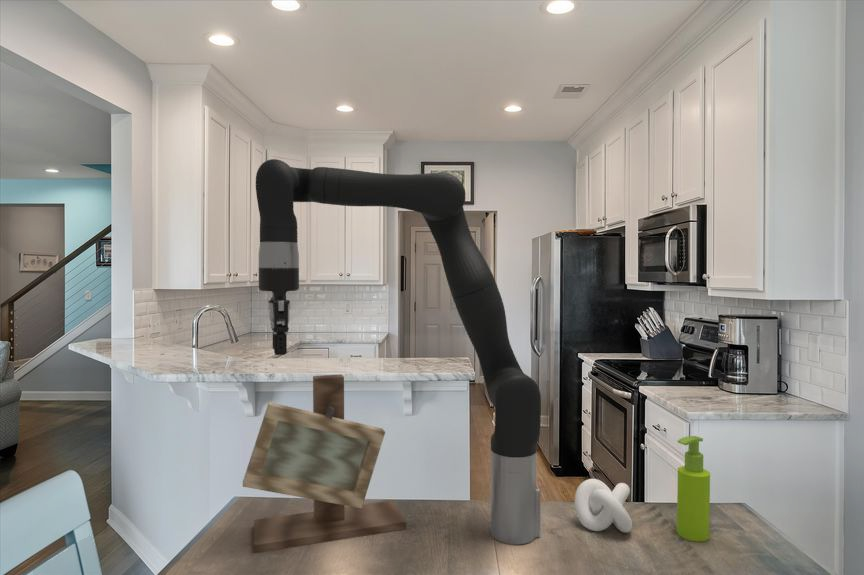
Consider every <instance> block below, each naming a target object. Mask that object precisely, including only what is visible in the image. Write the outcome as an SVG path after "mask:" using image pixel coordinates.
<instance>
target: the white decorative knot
mask: <svg viewBox="0 0 864 575" xmlns="http://www.w3.org/2000/svg"><path fill="white" fill-rule="evenodd" d="M630 493H631V488H630V487H629V485H628V484H626V483H625V482H619V483H617V484H616V485H615V486H614V488H613V489H612V490H611V489H610V487H608V485H606V483H604V482H603V481H601V480H600V479H598V478H588V479H586V480H584V481H582V482H581V483H580V484H579V486H578V487H577V489H576V491H575V495H574V502H573V503H574V511H575V514H576V516H577V519H578V521H579V522H580V523H581V525H582V526H583V527H585V528H586V529H588V530H590V531H592V532H593V531H594V532H601V531H604V530H606V529H608V528H609V527H610V526H611V525H612V524H613V525H614V526H615V527H616V529H617V530H618V531H620V532H621V533H625V534H627V533H630V532H631V531H632V530H633V522H632V518H631V516H630V515H629V513H628V511H627V510H626V508H625V507H624V506H623V505H624V503H625V502H626V500H627V499H628V497H629V495H630Z"/></svg>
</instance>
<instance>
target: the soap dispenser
mask: <svg viewBox="0 0 864 575" xmlns="http://www.w3.org/2000/svg"><path fill="white" fill-rule="evenodd" d="M676 441H677V443H678V444H681V445H684V446H688V445H689V449H688V450H687V451H685V452H684V465H682V466H681V465H680V466H679V467H678V468H677V499H676V501H677V504H676V509H677V510H676V512H677V513H676V534H677V535H678V536H679V537H681V538H683V539H684V540H688V541H690V542H691V541H692V542H697V543H699V542H700V543H702V542H707V541H708V540H709V539H710V509H711V508H710V506H711V505H710V504H711V502H710V501H711V500H710V499H711V493H710V492H711V473H710V471H709V470H707V469H705V468H704V454H703V453H701V452H700V449H699V448H700V447H699V446H700V445H699V444H700V442H704V438H702V437H699V436H697V435H690V436H684V437H682V438H680V439H678V440H676Z"/></svg>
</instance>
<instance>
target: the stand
mask: <svg viewBox="0 0 864 575" xmlns="http://www.w3.org/2000/svg"><path fill="white" fill-rule="evenodd" d="M328 406H332V407H333V408H334V409H335V411H334V414H333V417H335V418H339V419H344V420H345V377H344V375H343V374H340V373H339V374H331V375H330V374H327V375H313V376H312V412H314V413H318V414H322V415H325V414H326V411H327V408H328ZM406 529H407V520H406V519H405V517H404V516H403V514H402V512H401V511H400V509H399V507H398V506H397V505H396V503H395V502H394V499H393V500H387V501H381V502H380V501H379V502H372V503H366V504H364V503H363V506H362V508H357V507H351V506H346V505H340V504H335V503H329V502H324V501H318V500H313V511H308V512H301V513H294V514H293V513H291V514H286V515H285V514H284V515H280V516H279V515H278V516H271V517H265V518H264V517H263V518H258V519H257V518H256V519H253V553H254V554H256V553H263V552H268V551H269V552H270V551H274V550H281V549H282V550H283V549H287V548H295V547H300V546H306V545H307V546H308V545H313V544H320V543H325V542H332V541H339V540H343V539H345V540H346V539H351V538H357V537H358V538H359V537H363V536H370V535H376V534H382V533H383V534H384V533H389V532H395V531H402V530H406Z"/></svg>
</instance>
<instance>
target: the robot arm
mask: <svg viewBox="0 0 864 575" xmlns="http://www.w3.org/2000/svg"><path fill="white" fill-rule="evenodd" d="M255 174H256V175H255V192H256V201H257V206H258V212H259V248H258V290H259V291H261V292H272V297H270V300H269V299H268V301H267V305H268V310H269V312H268V313H269V316H268V317H269V321H270V325H271V326H270V329H271V331H272V349H273V351H274V354H275V355H276V356H282V355H283V356H284V355H286V354H287V353H288V350H287V349H288V348H287V346H288V345H287V344H288V343H287V340H288V339H287V335H288V333H289V324H290V318H291V317H290V310H291V300H289V299H287V292H296V291H298V290H299V289H300V254H299V246H298V219H297V217H296V214H295V212H294V203H317V204H323V205H330V206H331V205H332V206H343V207H344V206H345V207H386V208H387V207H388V208H396V209H403V210H408V211H412V212H417V213H420V214H421V215H422V217H423V219H424V220H425V223H426V224H427V226H428V228H429V230H430V233H431V235H432V237H433V238H434V241H435V244H436V246H437V249H438V251H439V255H440V258H441V263H442V265H443V266H442V267H443V270H444V271H443V272H444V273H445V277H446V282H447V285H448V287H449V290H450V293H451V297H452V300H453V302H454V305H455V308H456V310H457V313H458V315H459V318H460V321H461V322H462V326H463V327H464V329H465V332H466V334H467V336H468V338H469V341H470V342H471V344H472V347H473V349H474V351H475V353H476V356H477V358H478V361H479V364H480V365H479V366H480V369H481V372H482V376H483V381H484V383H485V388H486V392H487V395H488V396H487V397H488V398H489V400H490V403H491V404H492V406H493V407H494V430H493V433H492V434H491V436H490V506H489V507H490V513H489V515H490V520H489V525H490V529H489V530H490V531H489V532H490V535H491V537H492V538H493V539H495V540H497V541H499V542H500V543H504V544H509V545H525V544H529V543H531V542H533V541H534V540H535V539H536V538H539V537H541V490H540V488H539V487H537V472H538V471H537V462H538V461H537V459H538V458H537V451H538V450H537V448H538V442H539V440H540V435H541V421H542V420H541V418H542V417H541V416H542V397H541V396H542V394H541V391H540V387H539V385H538V384H537V383H536V381H535V380H534V379H532V377H530V376H529V375H528V374H525V373H524V371H523V369H522V368H521V366H520V364H519V362H518V360H517V357H516V355H515V353H514V351H513V349H512V345H511V342H510V339H509V334H508V326H507V324H508V322H507V316H506V310H505V305H504V301H503V299H502V296H501V295H502V294H501V293H500V290H499V287H498V285H497V282H496V279H495V277H494V275H493V272H492V271H491V268H490V266H489V265H488V262H487V261H486V259H485V257H484V255H483V254H482V252H481V251H480V249H479V247H478V246H477V244H476V242H475V240H474V238H473V236H472V233H471V231H470V227H469V223H468V221H467V216H466V214H465V210H464V206H465V202H466V190H465V187H464V184H463V183H462V182H461V180H460V179H459V178H458V177H457V176H455V175H454V174H451V173H449V172H445V171H443V172H442V171H439V172H429V173H417V174H416V173H414V174H413V173H412V174H400V173H399V174H398V173H397V174H394V173H393V174H392V173H382V172H381V173H379V172H371V171H370V172H369V171H363V170H355V169H345V168H337V167H328V166H316V167H313V169H311V168H303V167H302V168H301V167H293V166H290V165H289V164H288V163H287V162H285V161H283V160H280V159H278V158H277V159H276V158H273V159H268V160H265V161H264V162H262V163H261V164H260V165H259V167H258V169H257V171H256V173H255Z"/></svg>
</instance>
